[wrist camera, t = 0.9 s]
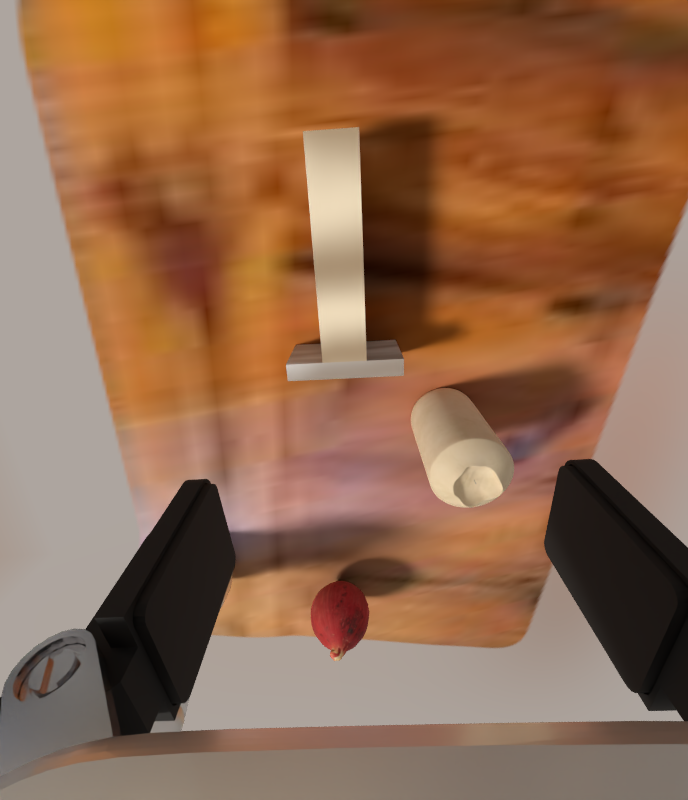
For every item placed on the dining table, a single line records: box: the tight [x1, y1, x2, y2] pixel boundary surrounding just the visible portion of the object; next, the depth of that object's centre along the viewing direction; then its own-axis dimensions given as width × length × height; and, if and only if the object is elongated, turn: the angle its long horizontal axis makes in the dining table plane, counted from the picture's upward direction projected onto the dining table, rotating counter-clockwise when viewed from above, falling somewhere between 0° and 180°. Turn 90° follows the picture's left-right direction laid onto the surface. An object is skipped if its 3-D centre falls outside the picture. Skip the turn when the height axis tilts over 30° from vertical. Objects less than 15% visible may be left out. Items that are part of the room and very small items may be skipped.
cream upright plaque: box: [286, 127, 404, 381], centre depth 25 cm, size 14×8×5 cm, turn 3°
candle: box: [411, 388, 514, 508], centre depth 27 cm, size 6×6×10 cm
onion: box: [311, 581, 369, 661], centre depth 37 cm, size 6×6×8 cm
